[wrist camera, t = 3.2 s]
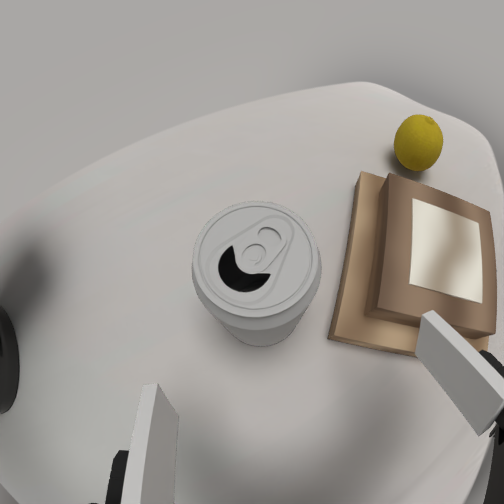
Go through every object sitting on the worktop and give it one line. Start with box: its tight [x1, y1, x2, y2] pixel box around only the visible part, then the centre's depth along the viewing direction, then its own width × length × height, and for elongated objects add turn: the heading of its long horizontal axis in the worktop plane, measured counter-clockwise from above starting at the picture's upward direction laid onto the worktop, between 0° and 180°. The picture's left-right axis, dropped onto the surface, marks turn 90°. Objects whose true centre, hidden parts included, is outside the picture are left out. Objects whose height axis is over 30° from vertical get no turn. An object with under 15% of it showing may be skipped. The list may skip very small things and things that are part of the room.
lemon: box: [394, 115, 443, 171], centre depth 25 cm, size 6×6×8 cm
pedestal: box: [328, 171, 497, 357], centre depth 21 cm, size 16×16×6 cm
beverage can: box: [192, 201, 322, 346], centre depth 18 cm, size 6×6×12 cm
